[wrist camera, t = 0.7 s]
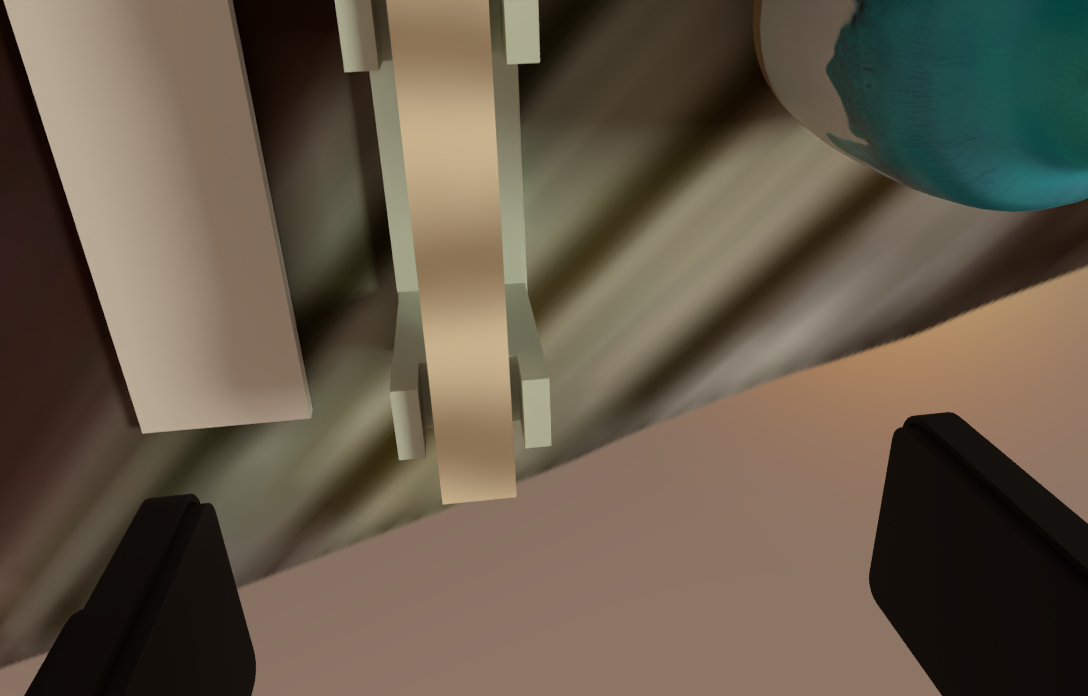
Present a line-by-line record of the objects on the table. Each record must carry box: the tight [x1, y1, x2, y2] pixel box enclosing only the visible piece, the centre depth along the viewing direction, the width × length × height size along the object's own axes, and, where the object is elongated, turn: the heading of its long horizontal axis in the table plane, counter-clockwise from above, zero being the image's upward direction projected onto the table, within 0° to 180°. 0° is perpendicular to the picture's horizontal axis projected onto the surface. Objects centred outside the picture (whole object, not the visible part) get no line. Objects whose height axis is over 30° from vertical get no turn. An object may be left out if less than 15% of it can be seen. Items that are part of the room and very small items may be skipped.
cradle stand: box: [335, 0, 551, 460], centre depth 30 cm, size 18×6×10 cm, turn 2°
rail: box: [386, 0, 517, 504], centre depth 27 cm, size 20×3×3 cm, turn 2°
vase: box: [753, 0, 1088, 212], centre depth 25 cm, size 11×11×19 cm
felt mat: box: [3, 0, 313, 433], centre depth 33 cm, size 24×8×1 cm, turn 2°
